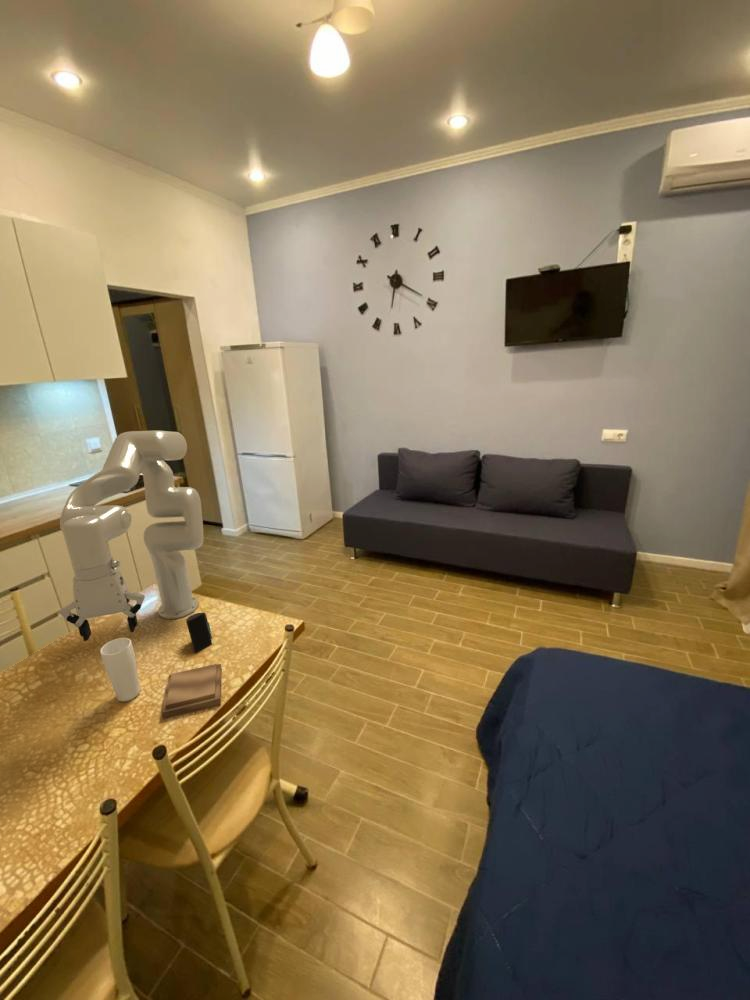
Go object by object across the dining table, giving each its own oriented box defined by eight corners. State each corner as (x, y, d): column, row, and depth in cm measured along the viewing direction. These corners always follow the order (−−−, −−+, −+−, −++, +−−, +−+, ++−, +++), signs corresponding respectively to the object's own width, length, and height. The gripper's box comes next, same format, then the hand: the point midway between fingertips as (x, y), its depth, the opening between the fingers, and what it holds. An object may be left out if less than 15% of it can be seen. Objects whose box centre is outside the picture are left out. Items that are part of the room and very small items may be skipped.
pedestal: (170, 681, 112) (168, 672, 111) (221, 669, 115) (220, 660, 114) (163, 719, 100) (160, 709, 99) (220, 704, 104) (219, 695, 103)
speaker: (215, 646, 124) (207, 615, 122) (195, 654, 122) (186, 622, 119) (211, 634, 131) (203, 605, 128) (191, 642, 128) (183, 612, 125)
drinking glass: (130, 706, 104) (117, 657, 99) (107, 703, 105) (92, 653, 100) (149, 686, 110) (137, 638, 105) (127, 683, 111) (114, 635, 106)
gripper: (139, 556, 101) (153, 617, 107) (56, 568, 96) (74, 632, 102) (133, 570, 95) (148, 634, 100) (42, 583, 90) (63, 651, 95)
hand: (110, 633), depth 101 cm, fingers open, 9 cm apart
